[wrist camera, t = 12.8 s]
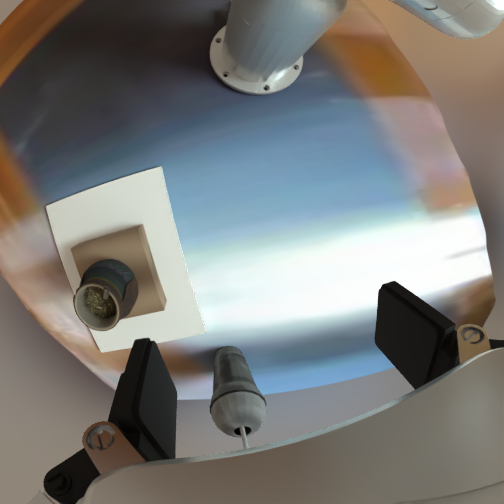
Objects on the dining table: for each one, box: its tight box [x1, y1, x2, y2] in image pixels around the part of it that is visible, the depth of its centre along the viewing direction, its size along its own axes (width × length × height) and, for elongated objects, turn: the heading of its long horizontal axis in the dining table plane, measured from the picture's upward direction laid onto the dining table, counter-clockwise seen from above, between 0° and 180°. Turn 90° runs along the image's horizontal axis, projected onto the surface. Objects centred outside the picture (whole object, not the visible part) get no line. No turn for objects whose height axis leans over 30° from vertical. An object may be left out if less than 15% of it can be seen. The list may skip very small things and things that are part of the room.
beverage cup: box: [210, 346, 266, 449], centre depth 33 cm, size 7×7×20 cm
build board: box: [46, 167, 207, 352], centre depth 35 cm, size 24×18×1 cm
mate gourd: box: [73, 259, 139, 331], centre depth 27 cm, size 7×8×10 cm
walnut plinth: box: [70, 224, 167, 319], centre depth 33 cm, size 11×10×3 cm
